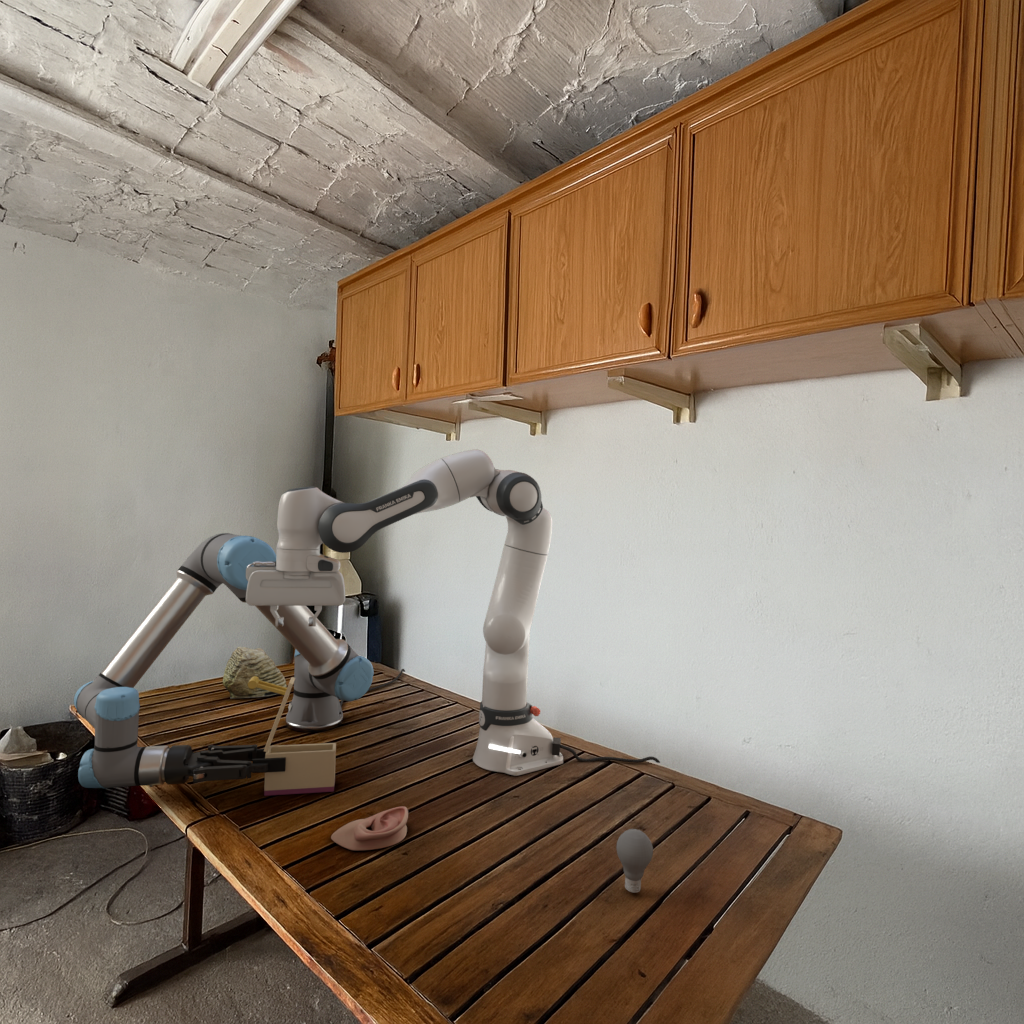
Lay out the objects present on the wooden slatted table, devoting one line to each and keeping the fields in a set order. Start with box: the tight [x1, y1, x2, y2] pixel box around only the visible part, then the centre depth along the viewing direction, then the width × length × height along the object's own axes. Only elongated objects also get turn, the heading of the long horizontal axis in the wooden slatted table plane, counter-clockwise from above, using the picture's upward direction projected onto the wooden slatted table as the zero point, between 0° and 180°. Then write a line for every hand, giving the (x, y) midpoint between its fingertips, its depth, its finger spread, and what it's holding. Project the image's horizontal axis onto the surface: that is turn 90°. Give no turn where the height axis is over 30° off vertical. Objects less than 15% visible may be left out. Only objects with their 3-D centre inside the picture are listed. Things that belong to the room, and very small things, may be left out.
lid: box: [248, 676, 295, 752], centre depth 135 cm, size 15×4×9 cm
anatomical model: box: [330, 805, 409, 852], centre depth 119 cm, size 13×4×12 cm
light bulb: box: [615, 828, 654, 894], centre depth 106 cm, size 6×6×10 cm
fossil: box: [222, 646, 288, 699], centre depth 198 cm, size 9×18×15 cm, turn 132°
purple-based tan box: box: [263, 742, 337, 797], centre depth 137 cm, size 14×5×9 cm, turn 103°
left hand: (286, 759), depth 136 cm, fingers closed on purple-based tan box, 4 cm apart
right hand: (295, 626), depth 136 cm, fingers open, 5 cm apart
